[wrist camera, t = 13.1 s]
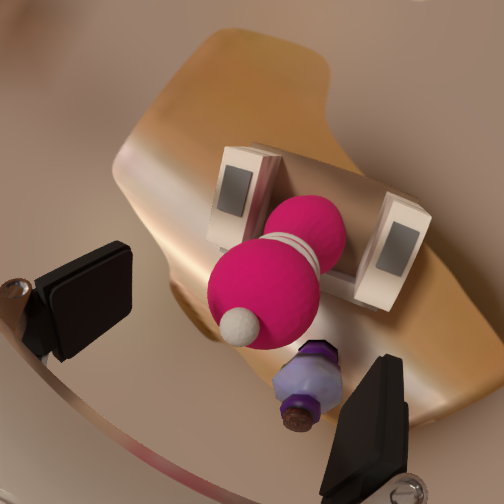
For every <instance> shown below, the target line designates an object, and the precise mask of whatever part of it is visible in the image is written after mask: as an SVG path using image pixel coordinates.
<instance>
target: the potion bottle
mask: <svg viewBox="0 0 504 504" xmlns="http://www.w3.org/2000/svg"><path fill="white" fill-rule="evenodd" d="M298 351H299V352H298V353H297V354H296V355H295V356H294V357H293V358H292V359H291V360H290V361H289V362H288V363H286V364H284V365H283V366H282V368H281V369H280V371H279V372H278V373H277V374H276V375H275V376H274V378H273V379H272V381H273V386H274V391H275V395H276V399H278V400H279V401H280V402H282V405H281V407H280V411H281V416H282V419H283V424H284V426H285V427H286V428H288V429H290V430H292V431H295V432H307V431H309V430H310V429H311V427H312V425H313V424H315V423H317V422H318V421H319V419H320V416H321V414H324V413H326V412H327V411H329V410H331V409H332V408H334V407H336V406H337V405H339V404H340V403H342V378H341V370H340V366H339V365H338V349H336V348H335V347H334V346H333V345H331V344H330V343H329V342H327V341H326V340H308V341H307V342H306V343H304V344H303V345H302V346H301V347H300V348H299V349H298Z"/></svg>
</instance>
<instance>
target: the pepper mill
mask: <svg viewBox="0 0 504 504" xmlns="http://www.w3.org/2000/svg"><path fill="white" fill-rule="evenodd" d="M345 243H346V232H345V227H344V223H343V220H342V216H341V214H340V212H339V210H338V208H337V207H336V206H335V205H334V204H333V203H332V202H331V201H329V200H328V199H326V198H324V197H321V196H317V195H307V196H296V197H292V198H289V199H287V200H285V201H284V202H282V203H281V204H280V205H278V207H277V208H276V209H275V210H274V211H273V212H272V213H271V215H270V216H269V218H268V220H267V222H266V225H265V229H264V234H263V236H261V237H260V238H258V239H251V240H248V241H245V242H242V243H240V244H238V245H236V246H234V247H233V248H231V249H230V250H229V251H228V252H226V253H225V254H224V255H223V256H222V257H221V258H220V260H219V261H218V262H217V264H216V265H215V267H214V269H213V271H212V273H211V276H210V279H209V282H208V291H207V299H208V304H209V309H210V311H211V314H212V316H213V318H214V320H215V321H216V323H217V325H218V326H219V327H220V333H221V335H222V337H223V338H224V340H225V341H226V342H227V343H229V344H230V345H233V346H236V347H242V346H246V347H249V348H253V349H260V350H269V349H276V348H280V347H283V346H286V345H289V344H290V343H292V342H294V341H296V340H297V339H298V338H300V337H301V336H302V335H303V334H304V333H305V332H306V331H307V329H308V328H309V327H310V325H311V324H312V322H313V320H314V318H315V316H316V314H317V311H318V307H319V301H320V285H319V279H320V275H322V274H324V273H325V272H327V271H329V270H330V269H331V268H332V267H333V266H334V265H335V264H336V263H337V262H338V260H339V258H340V257H341V255H342V253H343V250H344V247H345Z"/></svg>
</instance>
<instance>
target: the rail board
mask: <svg viewBox="0 0 504 504" xmlns="http://www.w3.org/2000/svg"><path fill="white" fill-rule="evenodd" d="M307 195H317V196H321V197H324V198H326V199H328V200H329V201H331V202H332V203H333V204H334V205H335V206H336V207H337V208H338V210H339V212H340V214H341V216H342V220H343V223H344V227H345V232H346V243H345V247H344V250H343V253H342V255H341V257H340V258H339V260H338V262H337V263H336V264H335V265H334V266H333V267H332V268H331V269H330V270H329V271H327V272H325V273H324V274H322V275H320V279H319V285H320V291H322V292H325V293H328V294H330V295H333V296H335V297H338V298H341V299H343V300H346V301H349V302H351V303H354V304H356V305H359V306H362V307H364V308H367V309H370V310H372V311H375V312H377V310H378V308H380V309H383V310H385V311H388V312H389V311H390V309H391V307H392V305H393V303H394V301H395V299H396V298H397V296H398V294H399V292H400V290H401V288H402V285H403V283H404V281H405V279H406V277H407V275H408V273H409V271H410V269H411V266H412V264H413V262H414V260H415V258H416V255H417V253H418V251H419V248H420V246H421V244H422V241H423V239H424V236H425V234H426V231H427V229H428V226H429V224H430V221H431V219H432V217H431V216H430V215H429V214H428V213H427V212H426V211H425V210H424V209H423V208H422V207H421V206H420V205H418V204H419V202H420V199H418V198H417V197H414V196H412V195H410V194H408V193H405V192H403V191H401V190H398V189H396V188H393V187H391V186H388V185H385V184H383V183H380V182H378V181H375V180H373V179H370V178H367V177H365V176H362V175H359V174H356V173H354V172H351V171H348V170H345V169H342V168H339V167H336V166H333V165H330V164H327V163H324V162H321V161H318V160H315V159H312V158H308V157H305V156H302V155H298V154H295V153H292V152H288V151H285V150H281V149H278V148H274V147H270V146H267V145H263V144H259V143H252V142H251V146H250V147H226V146H225V150H224V154H223V158H222V163H221V167H220V172H219V177H218V181H217V186H216V191H215V196H214V200H213V205H212V210H211V215H210V220H209V226H208V231H207V236H206V241H207V242H209V243H212V244H214V245H217V246H220V252H223V253H226V252H228V251H229V250H230V249H231V248H233V247H234V246H236V245H238V244H240V243H242V242H245V241H248V240H251V239H258V238H260V237H261V236H263V234H264V229H265V225H266V222H267V220H268V218H269V216H270V215H271V213H272V212H273V211H274V210H275V209H276V208H277V207H278V205H280V204H281V203H282V202H284V201H285V200H287V199H289V198H292V197H296V196H307Z"/></svg>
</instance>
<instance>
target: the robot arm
mask: <svg viewBox="0 0 504 504" xmlns="http://www.w3.org/2000/svg"><path fill="white" fill-rule="evenodd" d="M132 260H133V254H132V252H131V248H130V246H128V245H126V244H124V243H122V242H120V241H114V242H111V243H109V244H107V245H105V246H103V247H100V248H98V249H96V250H94V251H92V252H90V253H88V254H86V255H83V256H81V257H79V258H77V259H75V260H73V261H71V262H69V263H67V264H65V265H63V266H61V267H59V268H57V269H55V270H53V271H51V272H49V273H47V274H45V275H43V276H41V277H39V278H38V279H36V280H34V281H35V286H36V288H35V289H32V285H31V283H30V282H29V281H28V280H26V279H22V278H15V279H11V280H9V281H7V282H5V283H4V284H2V286H1V287H0V504H260V503H257V502H254V501H252V500H249V499H247V498H245V497H242V496H240V495H237V494H235V493H232V492H230V491H228V490H226V489H223V488H221V487H219V486H216V485H214V484H212V483H210V482H208V481H206V480H204V479H202V478H200V477H198V476H196V475H194V474H192V473H190V472H188V471H186V470H184V469H183V468H181V467H179V466H177V465H175V464H174V463H172V462H170V461H168V460H166V459H165V458H163V457H162V456H160V455H158V454H157V453H155V452H153V451H152V450H150V449H148V448H147V447H145V446H143V445H142V444H140V443H139V442H137V441H136V440H135V439H133V438H132V437H130V436H129V435H127V434H126V433H124V432H123V431H122V430H120V429H118V428H117V427H116V426H115V425H113V424H112V423H110V422H109V421H108V420H107V419H105V418H104V417H102V416H101V415H100V414H99V413H97V412H96V411H95V410H94V409H92V408H91V407H90V406H89V405H88V404H86V403H85V402H84V401H83V400H82V399H80V398H79V397H78V396H77V395H76V394H74V393H73V392H72V391H71V390H70V389H69V388H68V387H67V386H66V385H64V384H63V383H62V382H61V381H60V380H59V379H58V378H57V377H56V376H55V375H54V374H53V373H52V372H51V371H50V370H49V369H47V367H46V364H47V359H48V355H49V353H50V352H51V351H52V353H53V355H54V356H55V357H56V358H57V359H58V360H59V361H60V362H61V363H62V362H63V361H65V360H66V359H70V358H72V357H74V356H75V355H76V354H77V353H79V352H80V351H81V350H83V349H84V348H85V347H87V346H88V345H89V344H90V343H92V342H93V341H94V340H96V339H97V338H98V337H100V336H101V335H102V334H104V333H105V332H106V331H108V330H109V329H110V328H112V327H113V326H114V325H115V324H117V323H118V322H119V321H121V320H122V319H123V318H125V317H126V316H127V315H128V314H129V313H130V312H131V309H132ZM408 432H409V408H408V404H407V402H404V380H403V361H402V359H401V358H398V357H395V356H392V355H389V354H385V355H384V356H383V357H381V356H379V357H378V358H377V359H376V360H375V362H374V363H373V365H372V366H371V368H370V369H369V371H368V372H367V374H366V375H365V377H364V378H363V379H362V381H361V382H360V384H359V385H358V386H357V388H356V389H355V391H354V392H353V393H352V395H351V396H350V397H349V399H348V400H347V401H346V402H345V404H344V405H343V407H342V409H341V412H340V415H339V420H338V424H337V429H336V433H335V437H334V441H333V445H332V449H331V453H330V456H329V460H328V464H327V467H326V471H325V474H324V478H323V481H322V484H321V488H320V491H319V495H321V496H323V498H322V501H321V504H427V500H428V490H427V487H426V485H425V483H424V482H423V480H422V479H420V478H419V477H418V476H416V475H414V474H412V473H407V459H408Z"/></svg>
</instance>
